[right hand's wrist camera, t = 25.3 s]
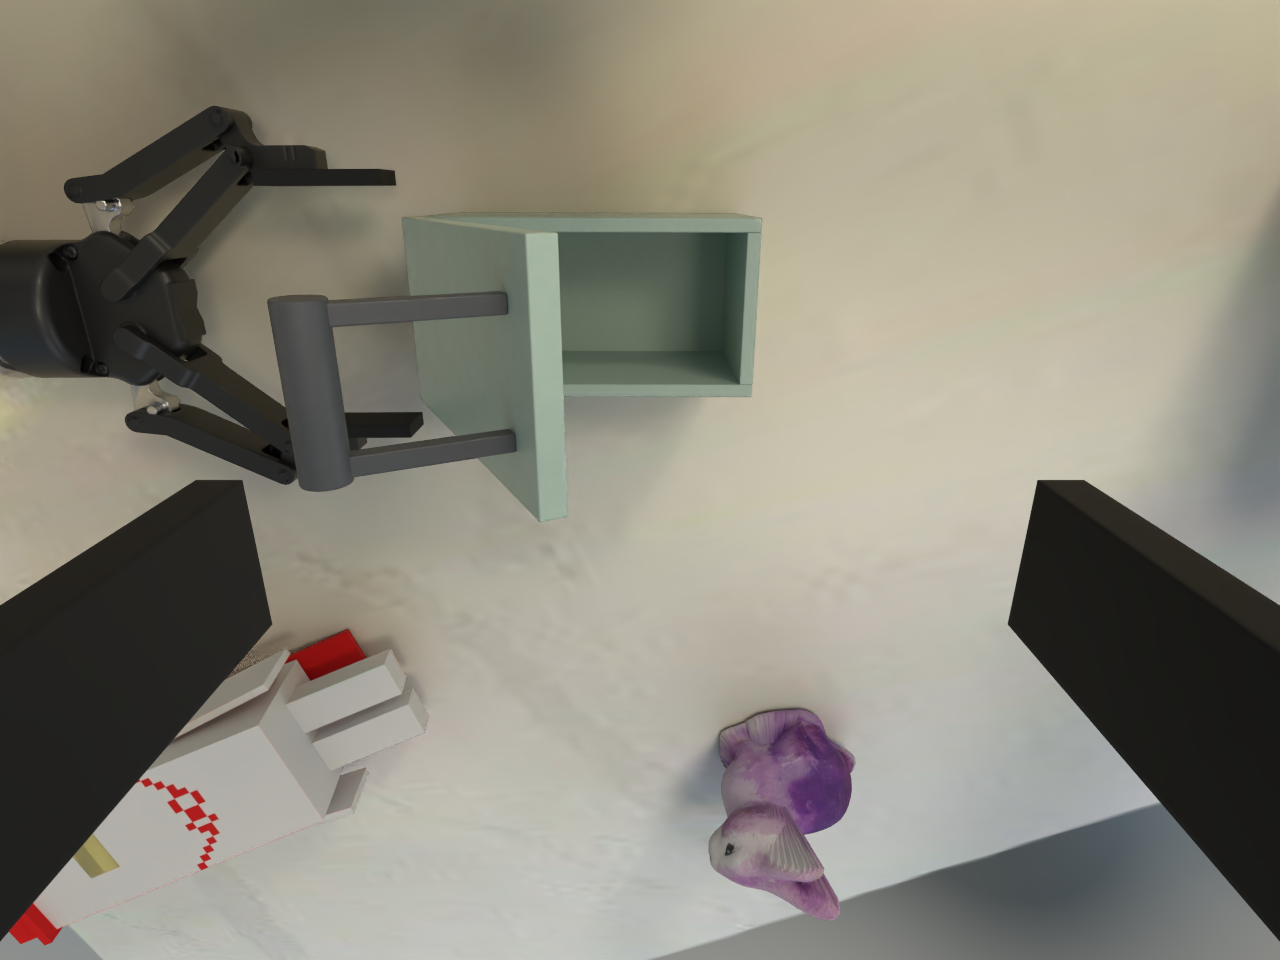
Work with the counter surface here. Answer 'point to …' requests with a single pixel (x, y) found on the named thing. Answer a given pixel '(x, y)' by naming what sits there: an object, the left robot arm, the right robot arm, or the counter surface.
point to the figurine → (781, 806)
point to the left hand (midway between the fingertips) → (403, 308)
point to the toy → (240, 776)
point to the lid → (445, 362)
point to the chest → (652, 300)
